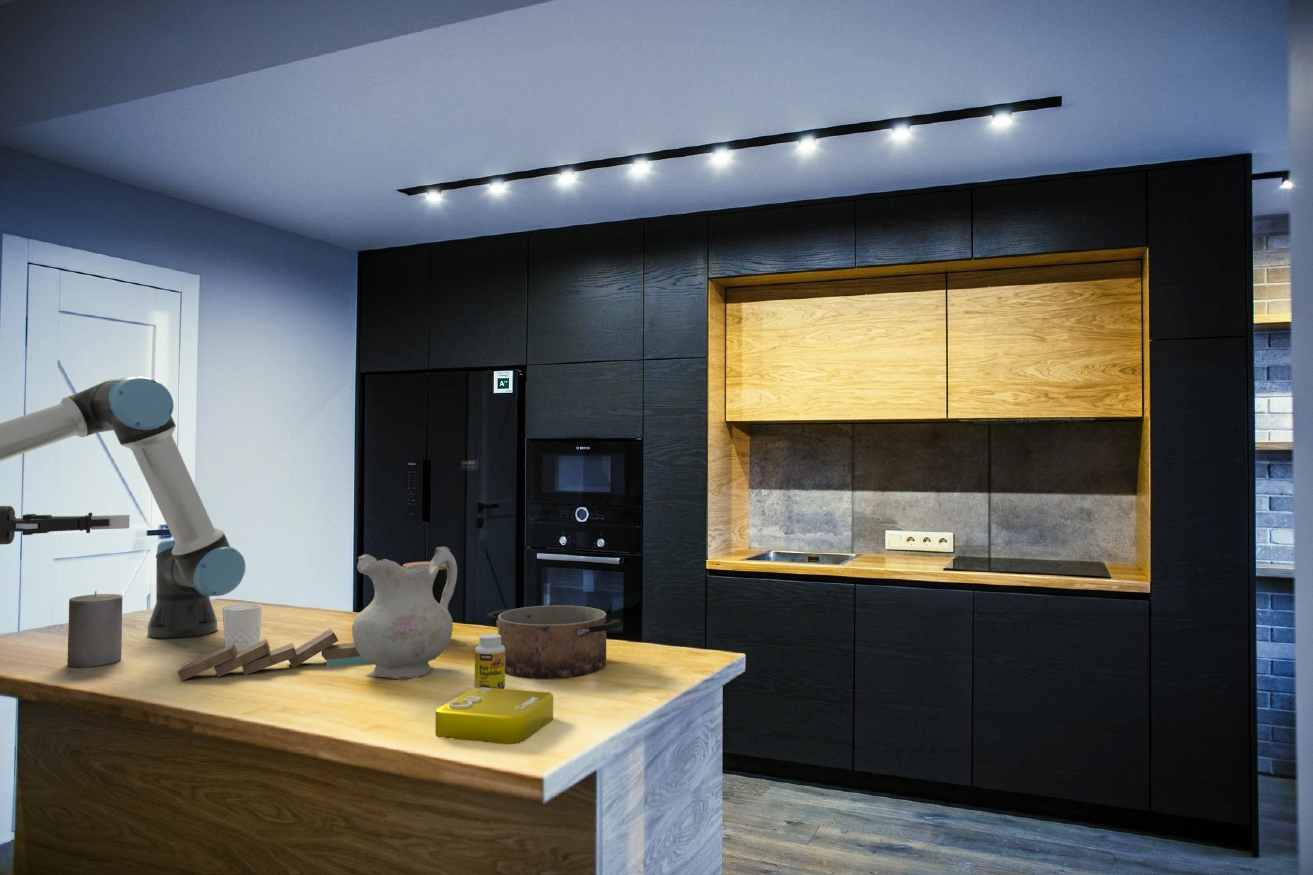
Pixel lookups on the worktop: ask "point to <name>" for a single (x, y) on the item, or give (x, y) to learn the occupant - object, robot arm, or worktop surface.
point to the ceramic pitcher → (404, 616)
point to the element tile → (494, 715)
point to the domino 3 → (271, 658)
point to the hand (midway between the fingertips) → (128, 521)
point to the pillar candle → (94, 630)
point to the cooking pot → (553, 640)
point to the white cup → (242, 625)
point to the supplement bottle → (490, 662)
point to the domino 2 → (243, 657)
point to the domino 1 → (207, 662)
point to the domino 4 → (313, 647)
